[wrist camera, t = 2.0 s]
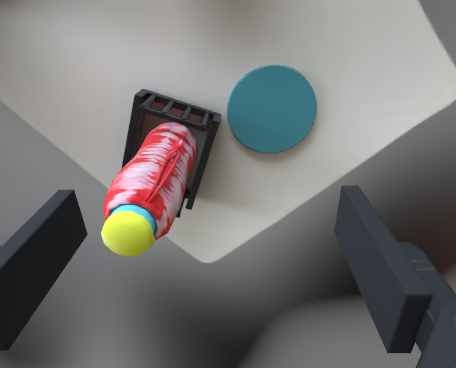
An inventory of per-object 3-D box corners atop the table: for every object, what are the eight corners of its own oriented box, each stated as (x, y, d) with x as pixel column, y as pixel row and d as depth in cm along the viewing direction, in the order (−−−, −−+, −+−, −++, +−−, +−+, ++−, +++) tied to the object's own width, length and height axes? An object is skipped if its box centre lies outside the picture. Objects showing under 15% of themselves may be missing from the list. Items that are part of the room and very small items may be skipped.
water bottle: (169, 186, 53) (119, 306, 31) (129, 158, 51) (46, 265, 29) (214, 136, 49) (193, 235, 27) (172, 102, 47) (112, 180, 25)
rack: (125, 177, 53) (110, 199, 46) (142, 88, 46) (126, 100, 39) (194, 197, 54) (188, 221, 48) (221, 114, 47) (218, 129, 41)
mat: (217, 137, 49) (216, 138, 48) (244, 51, 43) (244, 52, 43) (294, 161, 51) (294, 163, 50) (331, 82, 45) (332, 83, 44)
